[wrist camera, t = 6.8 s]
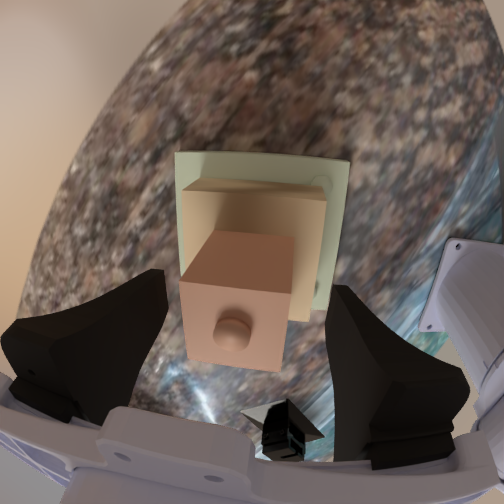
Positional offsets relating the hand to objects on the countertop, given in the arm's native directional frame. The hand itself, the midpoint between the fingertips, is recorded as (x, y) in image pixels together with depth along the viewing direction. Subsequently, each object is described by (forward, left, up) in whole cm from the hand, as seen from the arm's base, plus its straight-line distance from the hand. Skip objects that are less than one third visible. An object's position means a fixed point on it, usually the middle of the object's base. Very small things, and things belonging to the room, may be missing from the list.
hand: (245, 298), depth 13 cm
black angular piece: (-4, +22, -8) cm, 23 cm away
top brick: (0, 0, -3) cm, 3 cm away
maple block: (0, 0, -6) cm, 6 cm away
